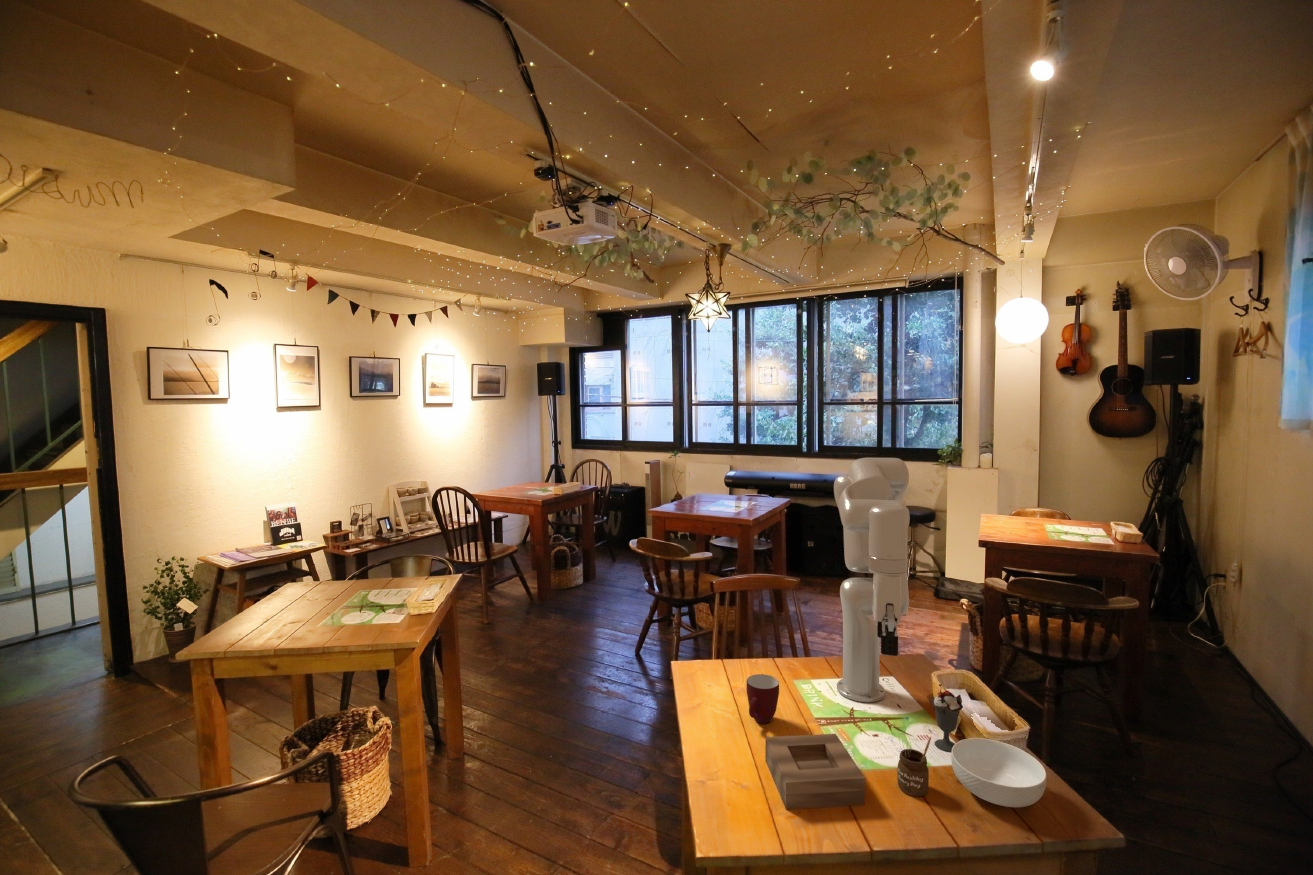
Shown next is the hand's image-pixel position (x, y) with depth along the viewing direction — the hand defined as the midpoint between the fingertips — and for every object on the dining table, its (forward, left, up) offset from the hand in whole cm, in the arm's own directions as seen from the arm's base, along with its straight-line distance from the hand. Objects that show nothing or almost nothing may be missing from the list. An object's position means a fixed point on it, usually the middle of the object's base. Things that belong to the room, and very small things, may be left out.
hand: (887, 645), depth 126 cm
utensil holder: (+4, +4, -29) cm, 30 cm away
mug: (-24, -21, -29) cm, 43 cm away
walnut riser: (0, -16, -29) cm, 33 cm away
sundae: (-10, +19, -29) cm, 36 cm away
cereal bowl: (+7, +20, -29) cm, 36 cm away
